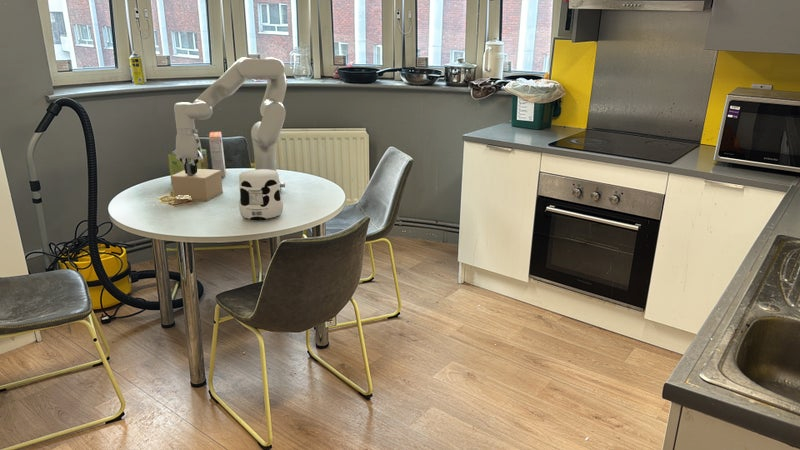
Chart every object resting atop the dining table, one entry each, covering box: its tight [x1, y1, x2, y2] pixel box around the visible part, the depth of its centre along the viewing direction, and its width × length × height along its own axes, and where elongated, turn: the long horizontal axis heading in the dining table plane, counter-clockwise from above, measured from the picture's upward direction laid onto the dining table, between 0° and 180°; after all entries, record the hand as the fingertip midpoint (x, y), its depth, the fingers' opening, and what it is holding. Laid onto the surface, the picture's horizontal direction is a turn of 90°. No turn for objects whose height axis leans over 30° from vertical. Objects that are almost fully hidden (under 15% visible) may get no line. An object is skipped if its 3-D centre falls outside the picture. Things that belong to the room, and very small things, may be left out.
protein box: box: [167, 148, 209, 186], centre depth 294 cm, size 10×15×16 cm
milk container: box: [238, 169, 284, 222], centre depth 243 cm, size 17×17×18 cm
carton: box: [171, 172, 224, 202], centre depth 273 cm, size 16×14×10 cm
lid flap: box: [170, 162, 221, 179], centre depth 270 cm, size 16×14×6 cm
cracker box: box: [208, 131, 226, 178], centre depth 308 cm, size 14×6×21 cm, turn 14°
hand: (191, 172), depth 267 cm, fingers open, 2 cm apart
